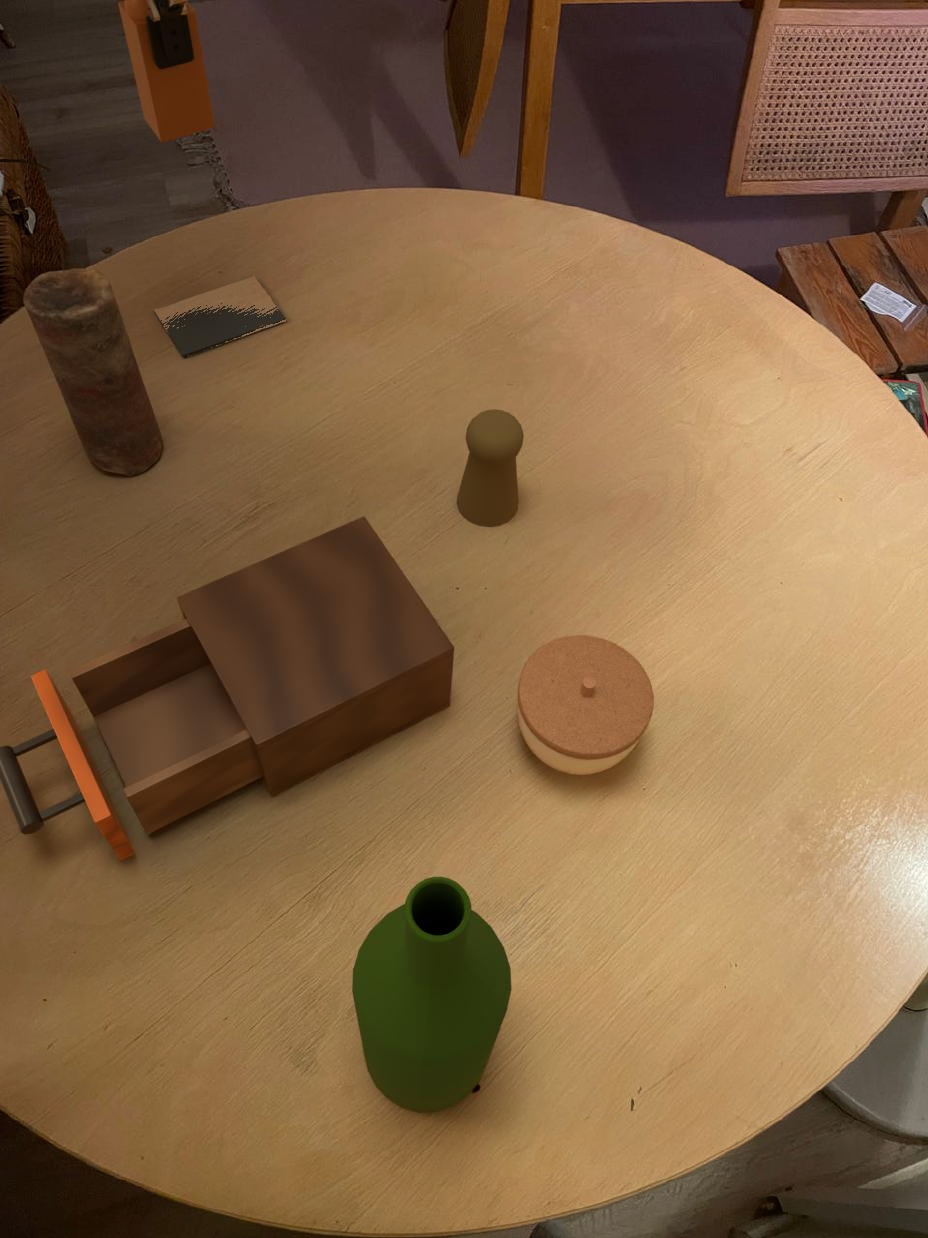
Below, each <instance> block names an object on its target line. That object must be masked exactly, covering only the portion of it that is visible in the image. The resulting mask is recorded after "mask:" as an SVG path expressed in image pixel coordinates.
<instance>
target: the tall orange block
mask: <svg viewBox="0 0 928 1238" xmlns="http://www.w3.org/2000/svg"><path fill="white" fill-rule="evenodd" d="M185 4H186V8H187V18H188V24H189V30H190V35H191V41H192V47H193V52H194V59H193V61H191V62H188V63H184V64H180V65H177V66H173V67H169V68H165V69H159V68H158V67H157V65H156V64H155V61H154V56H153V51H152V47H151V42H150V37H149V32H148V28H147V23H146V18H145V17H148V16H150V15H149V12H148V8H147V4H146V0H122V1H118V3H117V5H118V9H119V13H120V17H121V22H122V26H123V30H124V35H125V39H126V44H127V49H128V52H129V57H130V61H131V66H132V70H133V74H134V79H135V83H136V88H137V92H138V97H139V101H140V105H141V110H142V114H143V119H144V120H145V122H146V124H148V126H149V127H150V129H151V130H152V132H153V133H154V134H155V136H156V137H157V138H158V140H159V141H160V143H162V144H163V143H166V142H169V141H172V140H176V139H180V138H184V137H186V136H190V135H194V134H198V133H201V132H205V131H208V130H212V129H215V127H216V126H215V119H214V114H213V108H212V103H211V96H210V90H209V89H210V88H209V84H208V78H207V72H206V66H205V60H204V55H203V50H202V42H201V35H200V31H199V26H198V25H199V24H198V20H197V19H198V18H197V13H196V11H195V9H194V8H193V7H192V6H191V4H190V3H189V1H187V2H186V3H185Z"/></svg>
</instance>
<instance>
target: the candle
mask: <svg viewBox="0 0 928 1238" xmlns="http://www.w3.org/2000/svg"><path fill="white" fill-rule="evenodd" d="M23 292H24V293H23V297H22V301H23V305H24V307H25V309H26V312H27V315H28V316H29V319H30V321H31V323H32V325H33V328H34V331H35V333H36V335H37V338H38V341H39V343H40V345H41V347H42V350H43V352H44V355H45V357H46V359H47V362H48V364H49V366H50V370H51V372H52V374H53V376H54V378H55V381H56V383H57V386H58V388H59V391H60V394H61V396H62V398H63V402H64V403H65V406H66V409H67V411H68V413H69V416H70V418H71V421H72V424H73V426H74V428H75V431H76V433H77V435H78V438H79V440H80V443H81V446H82V447H83V449H84V452H85V453H86V455H87V458H88V459H89V461H91V462H92V463H93V464H94V465H95V466H97V468H99V469H101V470H102V471H105V472H109V473H113V474H118V475H119V474H120V475H123V476H124V475H125V476H126V477H127V476H128V477H131V476H132V477H133V476H138V475H140V474H142V473H144V472H146V471H147V470H148V469H149V468H150V467H151V466H152V465H153V464H155V463H156V462H157V460H158V459H159V458H160V456H161V453H162V446H163V435H162V432H161V429H160V427H159V423H158V421H157V417H156V414H155V411H154V409H153V406H152V403H151V399H150V397H149V393H148V390H147V388H146V386H145V383H144V379H143V377H142V374H141V371H140V368H139V364H138V362H137V359H136V356H135V353H134V351H133V347H132V345H131V341H130V337H129V334H128V332H127V329H126V326H125V323H124V319H123V316H122V313H121V311H120V308H119V305H118V302H117V299H116V295H115V293H114V289H113V287H112V284H111V282H110V279H109V278H108V276H106V275H105V274H104V273H102V272H101V271H100V270H99V269H96V268H93V269H88V268H70V269H65V270H55V271H53V270H52V271H46V272H45V273H41V274H40V275H38V276H37V277H35V278H34V279H33V280H32V281H31V282H30V284H29V285H27V288H26V289H25V290H24V291H23Z"/></svg>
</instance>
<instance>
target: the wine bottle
mask: <svg viewBox="0 0 928 1238" xmlns="http://www.w3.org/2000/svg"><path fill="white" fill-rule="evenodd" d="M351 993H352V997H353V1003H354V1009H355V1014H356V1018H357V1019H356V1020H357V1024H358V1025H357V1026H358V1029H359V1035H360V1040H361V1045H362V1050H363V1051H362V1052H363V1055H364V1056H363V1057H364V1059H365V1064H366V1069H367V1072H368V1074H369V1076H370V1078H371V1079H372V1082H373V1084H374V1085H375V1087H376V1088H377V1089H378V1090H379V1092H381V1093H382V1094H383V1096H384V1097H385V1098H386V1099H387V1100H389V1101H390V1102H392V1103H394V1104H395V1105H397V1106H399V1107H401V1108H402V1109H405V1110H409V1111H411V1112H416V1113H436V1112H440V1111H443V1110H445V1109H446V1110H447V1109H449V1108H452V1107H454V1106H455V1105H457V1104H458V1103H460V1102H461V1101H463V1100H464V1099H466V1098H468V1096H469V1095H470V1094H471V1093H472V1092H473V1090H474V1089H475V1088H476V1087H477V1086H478V1084H479V1082H480V1080H481V1078H482V1076H483V1074H484V1073H485V1070H486V1068H487V1065H488V1064H489V1063H488V1062H489V1060H490V1057H491V1054H492V1053H493V1049H494V1047H495V1044H496V1042H497V1038H498V1035H499V1033H500V1031H501V1027H502V1025H503V1023H504V1020H505V1017H506V1014H507V1012H508V1009H509V1003H510V1000H511V999H510V998H511V993H512V970H511V965H510V961H509V957H508V956H507V953H506V949H505V946H504V944H503V943H502V942H501V940H500V939H499V937H498V936H497V934H496V932H495V930H494V929H493V927H492V926H491V925H490V924H489V923H488V922H487V921H486V920H485V919H484V918H483V917H482V916H481V915H480V914H479V913H477V912H476V911H474V910H472V902H471V899H470V896H469V895H468V893H467V891H466V889H465V888H464V887H463V886H462V885H460V883H458V882H457V881H455V880H453V879H451V878H449V877H445V876H431V877H427V878H425V879H423V880H421V881H419V882H418V883H416V884H415V885H414V887H412V888H411V889H410V891H409V893H408V894H407V896H406V899H405V903H403V904H402V905H400V906H398V907H396V908H395V909H392V910H391V911H389V912H387V914H385V915H384V917H382V918H381V920H380V921H378V922H377V924H376V925H374V927H372V928H371V929H370V931H369V932H368V934H367V935H366V937H365V938H364V940H363V942H362V944H361V945H360V947H359V949H358V951H357V954H356V958H355V962H354V965H353V968H352V987H351Z"/></svg>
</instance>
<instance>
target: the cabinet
mask: <svg viewBox="0 0 928 1238" xmlns="http://www.w3.org/2000/svg"><path fill="white" fill-rule="evenodd" d="M176 601H177V603H178V607H179V609H180V613H181V615H182V618H183V619H182V620H184V619H186V618H187V620H188V622H189V624H190V626H191V628H192V629H193V631H194V633H195V635H196V637H197V639H198V641H199V642H200V644H201V646H202V648H203V650H204V652H205V653H206V655H207V657H208V659H209V661H210V663H211V664H212V666H213V668H214V670H215V672H216V674H217V676H218V677H219V679H220V681H221V683H222V685H223V687H224V688H225V690H226V692H227V694H228V696H229V698H230V699H231V701H232V703H233V705H234V707H235V709H236V711H237V712H238V714H239V716H240V718H241V720H242V722H243V723H244V725H245V727H246V729H247V731H248V733H249V734H250V736H251V738H252V740H253V743H254V746H255V750H256V753H257V757H258V760H259V764H260V767H261V771H262V774H263V777H261V778H260V779H261V781H262V783H263V785H264V787H265V789H266V790H267V792H268V794H269V796H270V798H273V797H275V796H277V795H279V794H280V793H282V792H285V791H286V790H288V789H290V788H292V787H294V786H296V785H298V784H301V783H302V782H304V781H306V780H308V779H309V778H312V777H313V776H316V775H318V774H320V773H322V772H324V771H325V770H328V769H330V768H331V767H333V766H335V765H337V764H339V763H342V762H343V761H345V760H347V759H349V758H351V757H353V756H355V755H356V754H357V755H358V754H359V753H361V752H363V751H364V750H366V749H368V748H370V747H373V746H374V745H376V744H378V743H381V742H382V741H384V740H386V739H388V738H390V737H392V736H394V735H396V734H398V733H399V732H401V731H403V730H406V729H408V728H409V727H411V726H413V725H415V724H417V723H419V722H421V721H423V720H426V719H427V718H429V717H431V716H432V715H435V714H437V713H439V712H440V711H443V710H444V709H446V708H448V707H450V706H451V697H452V685H453V670H454V658H455V657H454V656H455V646H454V644H453V643H452V642H451V640H450V639H449V638H448V636H447V634H446V633H445V631H444V630H443V628H442V627H441V625H440V624H439V622H438V621H437V619H436V618H435V617H434V615H433V613H431V611H430V609H429V608H428V606H427V605H426V604H425V602H424V601H423V599H422V598H421V596H420V595H419V593H418V592H417V591H416V589H415V588H414V586H413V585H412V583H411V582H410V580H409V579H408V577H407V575H405V572H404V571H403V570H402V569H401V567H400V566H399V564H398V563H397V561H396V560H395V558H394V557H393V555H392V554H391V553H390V550H389V549H388V548H387V546H386V545H385V544H384V543H383V540H382V539H381V537H379V535H378V534H377V532H376V530H375V529H374V527H372V525H371V523H370V522H369V520H368V519H367V518H366V516H365V515H364V516H361V517H359V518H356V519H354V520H352V521H350V522H347V523H344V524H343V525H340V526H338V527H336V528H333V529H331V530H329V531H326V532H323V533H322V534H320V535H317V536H315V537H313V538H310V539H308V540H306V541H303V542H301V543H299V544H296V545H294V546H292V547H290V548H287V549H285V550H283V551H281V552H278V553H275V554H274V555H271V556H269V557H267V558H263V559H262V560H260V561H257V562H254V563H252V564H250V565H247V566H246V567H244V568H241V569H239V570H236V571H234V572H232V573H230V574H227V575H225V576H223V577H220V578H218V579H216V580H213V581H211V582H208V583H206V584H203V585H202V586H199V587H197V588H195V589H192V590H190V591H187V592H186V593H183V594H181V595H179V596H176Z"/></svg>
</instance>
